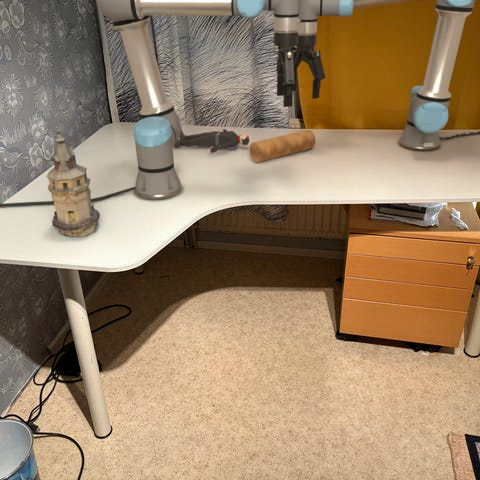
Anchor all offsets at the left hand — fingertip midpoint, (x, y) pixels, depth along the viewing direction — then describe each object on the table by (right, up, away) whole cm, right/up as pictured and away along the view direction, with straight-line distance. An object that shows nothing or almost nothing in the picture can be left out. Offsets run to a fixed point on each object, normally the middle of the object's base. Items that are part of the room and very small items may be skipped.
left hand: (284, 100), depth 174 cm
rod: (+2, -12, +32) cm, 35 cm away
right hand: (+9, +9, +26) cm, 29 cm away
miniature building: (-61, -42, -18) cm, 77 cm away
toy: (-25, -8, +41) cm, 49 cm away
